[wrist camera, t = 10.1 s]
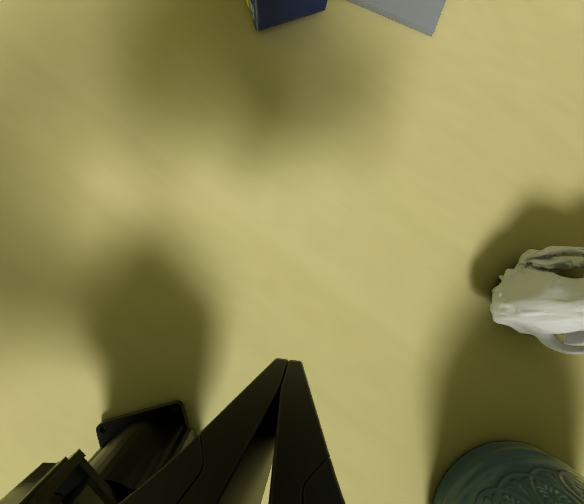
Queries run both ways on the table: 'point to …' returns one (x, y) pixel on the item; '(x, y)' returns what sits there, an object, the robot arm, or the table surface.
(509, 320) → the skull
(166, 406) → the robot arm
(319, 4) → the supplement box
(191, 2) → the table surface
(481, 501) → the canister
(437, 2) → the mat
